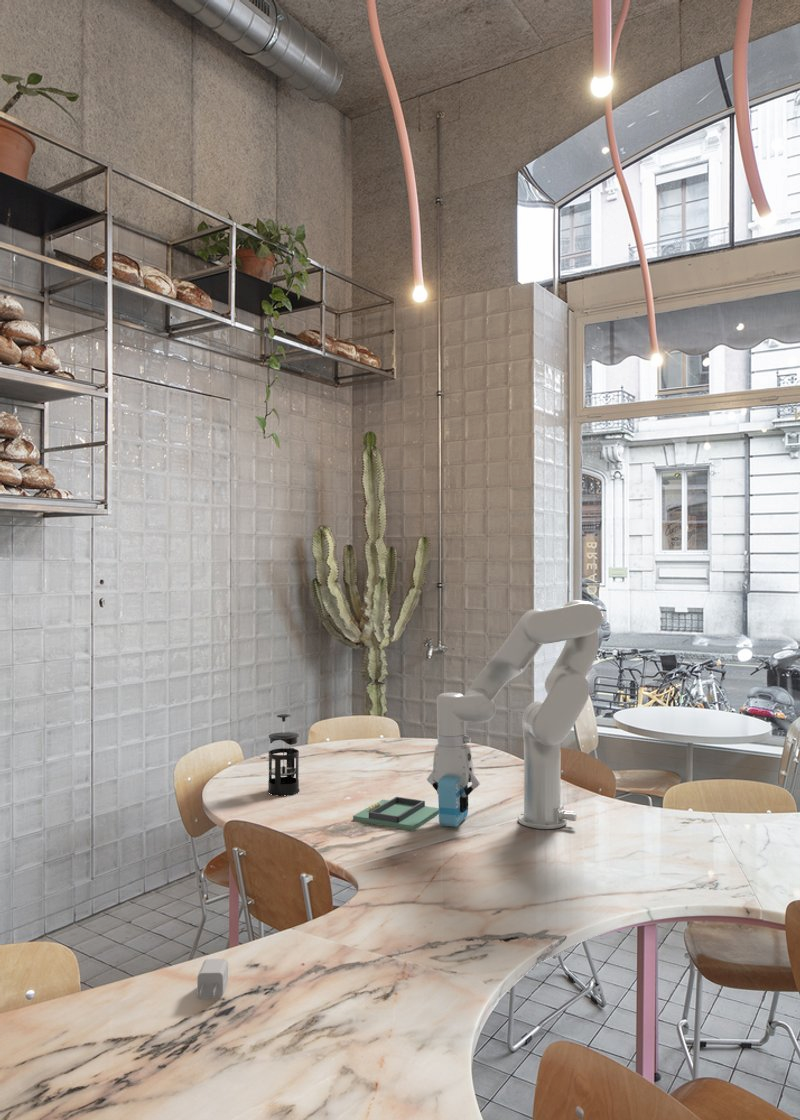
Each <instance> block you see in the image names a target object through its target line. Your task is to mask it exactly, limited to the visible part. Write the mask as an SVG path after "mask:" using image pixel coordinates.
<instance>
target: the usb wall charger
mask: <svg viewBox="0 0 800 1120" xmlns="http://www.w3.org/2000/svg"><path fill="white" fill-rule="evenodd" d="M196 981H197V982H196V984H197V987H196V988H197V989H196V991H197V992H196V994H197V997H198V998H199V999H221V998H222V997H223V995H224V993H225V989H226V987H227V984H228V981H229V961H228V960H227V958H226V959H225V958H207V959H205V960H204V961H203V962H202V965H201V967H200V969H199V971H198V974H197V978H196Z"/></svg>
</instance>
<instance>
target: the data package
mask: <svg viewBox="0 0 800 1120" xmlns="http://www.w3.org/2000/svg"><path fill="white" fill-rule="evenodd" d="M437 795H438V796H437V798H438V799H437V800H438V808H439V814H438V823H439V825H440V826H445V827H455V828H456V827H458V826H459V825H460V824H461V823H462V822H463V821H464V819H466V817H467V816H468V815H469V814H468V813H469V807H468V808H467V810H466V811H465V812H463V813H461V812H460V797H461V791H460V786H459V779H458V778H454V777H445V776H443V777H442V778H440V779H439V782H438V794H437Z"/></svg>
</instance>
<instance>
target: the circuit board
mask: <svg viewBox="0 0 800 1120" xmlns="http://www.w3.org/2000/svg"><path fill="white" fill-rule="evenodd" d="M437 816H439V807H432V806H428V805H427V806H426V801H425V800H420V799H413V798H407V797H401V796H395V797H393V798H392V799H390V800H388V799H380V800H379V801H377V802H375V803H374V804H371V805H370V806H368V807H367V808H364V809H363V810H361V811H359V812H357V813H356V814H354V815H352V820H353V821H355V820H357V821H356V822H360V821H362V822H361V823H366V822H368V823H367V824H372V823H374V824H373V825H379V826H384V827H389V828H390V827H391V828H397V829H401V830H402V829H403V830H407V831H413V832H414V831H416V830H417V829H419V828H420V827H421V826H423V825H424V824H426V823H428V822H430V821H431V820H433V819H434V818H435V817H437Z"/></svg>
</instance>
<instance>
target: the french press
mask: <svg viewBox="0 0 800 1120" xmlns="http://www.w3.org/2000/svg"><path fill="white" fill-rule="evenodd" d="M291 716H292V715H291V714H289V713H288V714H287V713H281V714H278V715H276V717H277V718H282V719H281V722H282V723H283V724H282V732H274V733H270V734H269V735H268V738H269V744H273V743H274V742H276V741H282V747H281V748H275V749H274V748H273V749H270V750H269V751H268V784H267V785H268V786H267V787H268V788H267V789H268V790H267V794H268V793H270V794H272V795H271V796H273V795H278V796H277V797H288V796H287V795H291V796H294V794H295V795H297V794H299V793H300V787H299V785H300V783H299V782H300V780H299V765H300V764H299V761H300V760H299V756H300V755H299V754H300V750H298V749H297V748H294V747H285V744H287V745H290V746H292V745H296V744H297V743H298V738H299V736H300V735H299V733H296V732H292V731H291V732H288V731H286V732H285V722H286V718H291ZM281 753H282V754H281ZM285 753H286V754H285ZM272 760H274V768H273V767H272V766H273V761H272ZM285 761H286V766H285ZM281 763H282V764H281ZM281 765H282V766H281ZM272 776H274V777H273V778H272ZM298 792H299V793H298ZM296 793H297V794H296ZM270 794H269V795H270ZM284 795H286V796H284Z"/></svg>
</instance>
